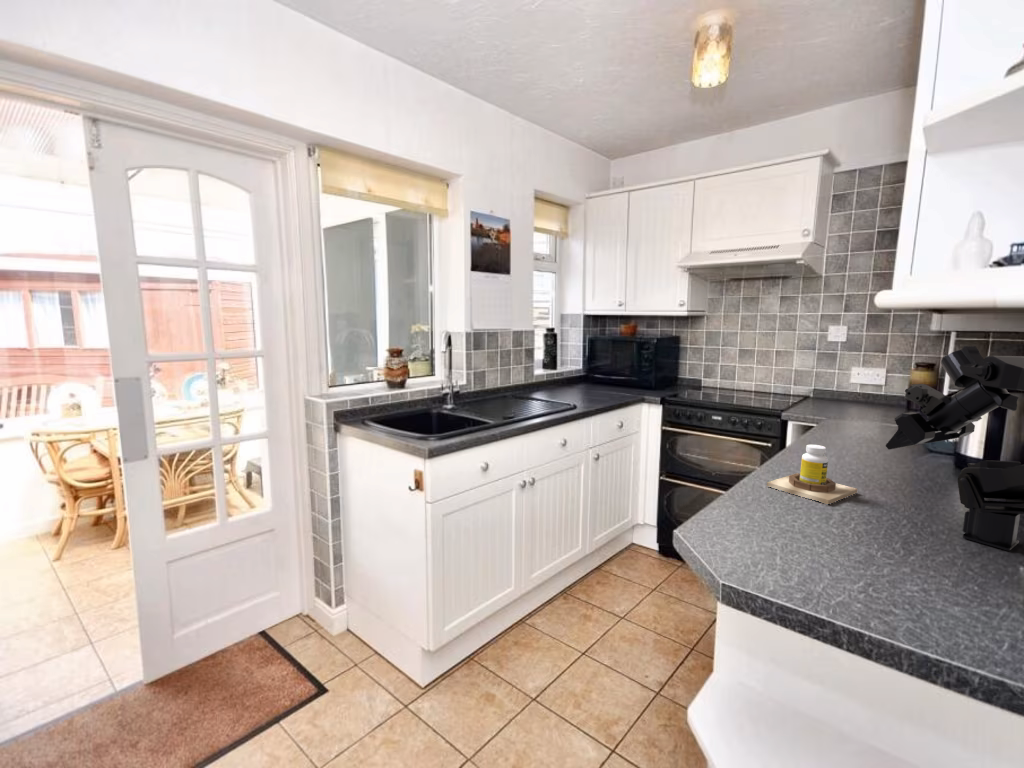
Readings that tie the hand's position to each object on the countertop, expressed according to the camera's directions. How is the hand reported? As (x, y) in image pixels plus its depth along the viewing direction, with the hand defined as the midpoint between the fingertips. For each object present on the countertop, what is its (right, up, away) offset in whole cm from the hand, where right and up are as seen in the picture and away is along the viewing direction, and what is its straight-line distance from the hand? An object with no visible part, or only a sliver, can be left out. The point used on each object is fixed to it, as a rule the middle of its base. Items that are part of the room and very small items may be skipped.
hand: (900, 445), depth 108 cm
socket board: (-13, -12, +11) cm, 21 cm away
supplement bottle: (-13, -11, +10) cm, 20 cm away
